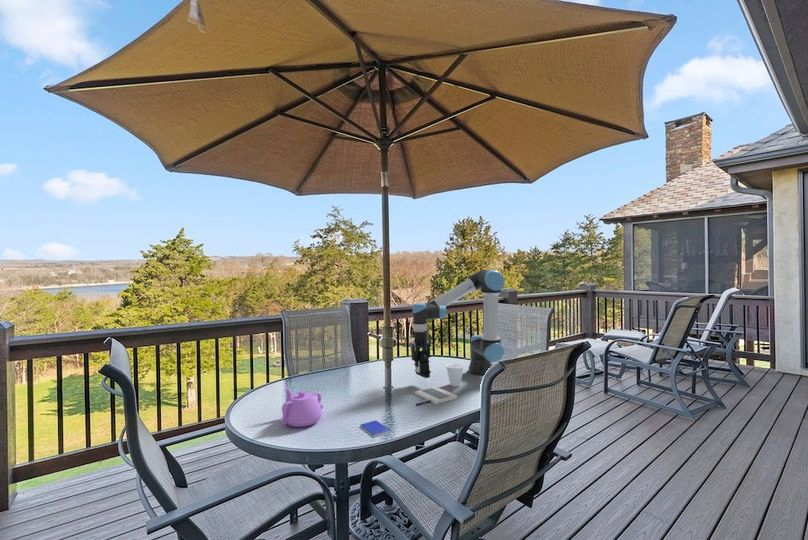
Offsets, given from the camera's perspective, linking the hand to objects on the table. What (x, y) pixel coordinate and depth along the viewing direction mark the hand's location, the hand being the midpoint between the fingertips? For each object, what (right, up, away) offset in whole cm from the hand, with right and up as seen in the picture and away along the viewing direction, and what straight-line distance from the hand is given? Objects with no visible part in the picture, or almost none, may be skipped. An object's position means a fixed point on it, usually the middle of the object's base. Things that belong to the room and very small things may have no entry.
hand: (421, 371), depth 225 cm
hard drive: (-22, -11, -57) cm, 62 cm away
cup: (+19, -8, -1) cm, 21 cm away
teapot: (-58, -11, -46) cm, 74 cm away
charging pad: (+3, -9, -21) cm, 22 cm away
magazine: (0, -2, 0) cm, 2 cm away
